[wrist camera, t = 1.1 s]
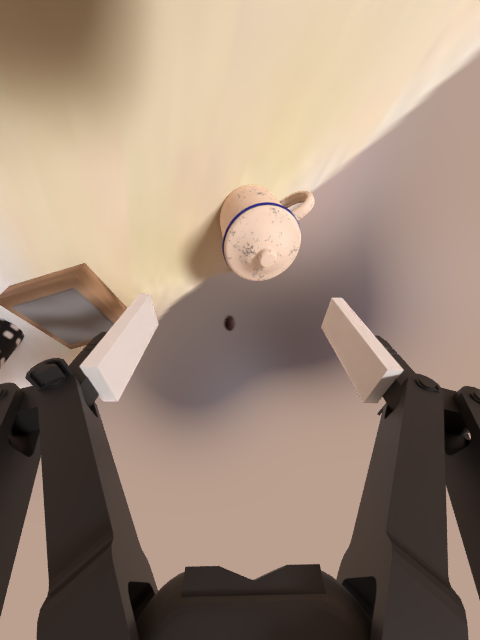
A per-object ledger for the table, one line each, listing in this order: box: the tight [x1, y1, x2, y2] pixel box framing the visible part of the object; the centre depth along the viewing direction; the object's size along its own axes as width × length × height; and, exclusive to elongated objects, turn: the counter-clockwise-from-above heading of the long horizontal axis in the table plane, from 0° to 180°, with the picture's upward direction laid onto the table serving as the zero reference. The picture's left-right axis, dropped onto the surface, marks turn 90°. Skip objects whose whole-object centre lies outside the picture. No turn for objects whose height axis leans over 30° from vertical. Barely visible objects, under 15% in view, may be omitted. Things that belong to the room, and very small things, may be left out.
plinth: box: [0, 263, 127, 349], centre depth 34 cm, size 13×13×4 cm
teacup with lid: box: [220, 185, 314, 281], centre depth 24 cm, size 12×9×12 cm
